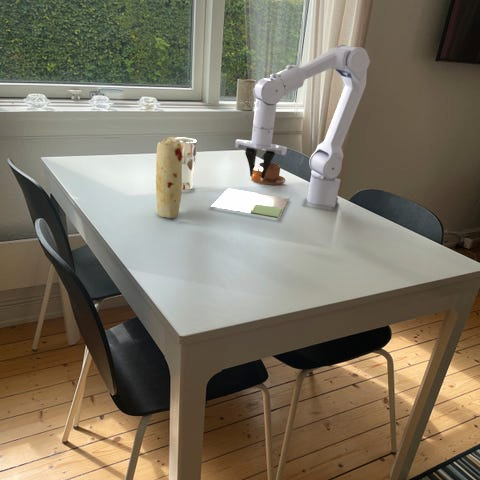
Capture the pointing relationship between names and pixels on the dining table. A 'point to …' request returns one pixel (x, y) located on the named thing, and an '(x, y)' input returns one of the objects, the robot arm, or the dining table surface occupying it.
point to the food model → (169, 177)
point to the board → (248, 201)
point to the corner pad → (266, 210)
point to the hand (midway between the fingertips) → (257, 176)
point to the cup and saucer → (272, 175)
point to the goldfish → (257, 174)
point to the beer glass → (188, 161)
